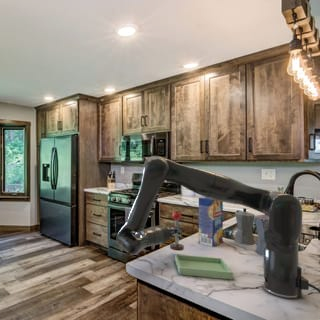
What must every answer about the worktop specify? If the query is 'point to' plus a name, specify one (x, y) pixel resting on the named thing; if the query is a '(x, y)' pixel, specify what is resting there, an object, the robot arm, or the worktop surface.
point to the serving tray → (203, 267)
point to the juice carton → (210, 221)
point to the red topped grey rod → (176, 245)
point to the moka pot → (261, 232)
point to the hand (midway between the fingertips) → (180, 229)
